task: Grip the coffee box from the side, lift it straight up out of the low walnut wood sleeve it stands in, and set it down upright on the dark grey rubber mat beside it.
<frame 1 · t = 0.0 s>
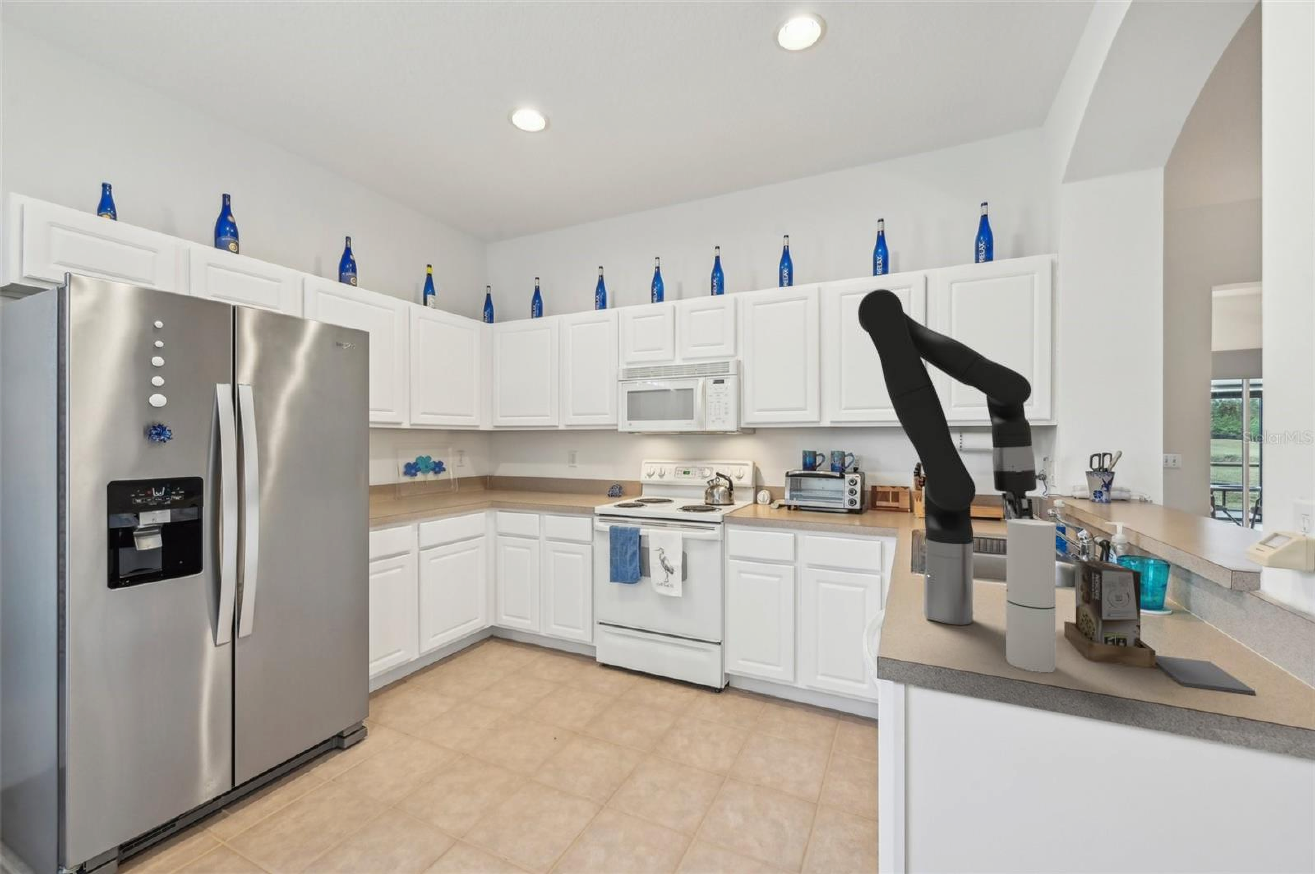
hand: (1019, 544, 116), 17 cm above the table, tool pointing down, fingers open, 8 cm apart
rubber mat: (1196, 674, 92), on the table
coffee box: (1106, 652, 102), resting in walnut sleeve
walnut sleeve: (1106, 651, 102), on the table
cylindrical container: (1030, 665, 97), on the table
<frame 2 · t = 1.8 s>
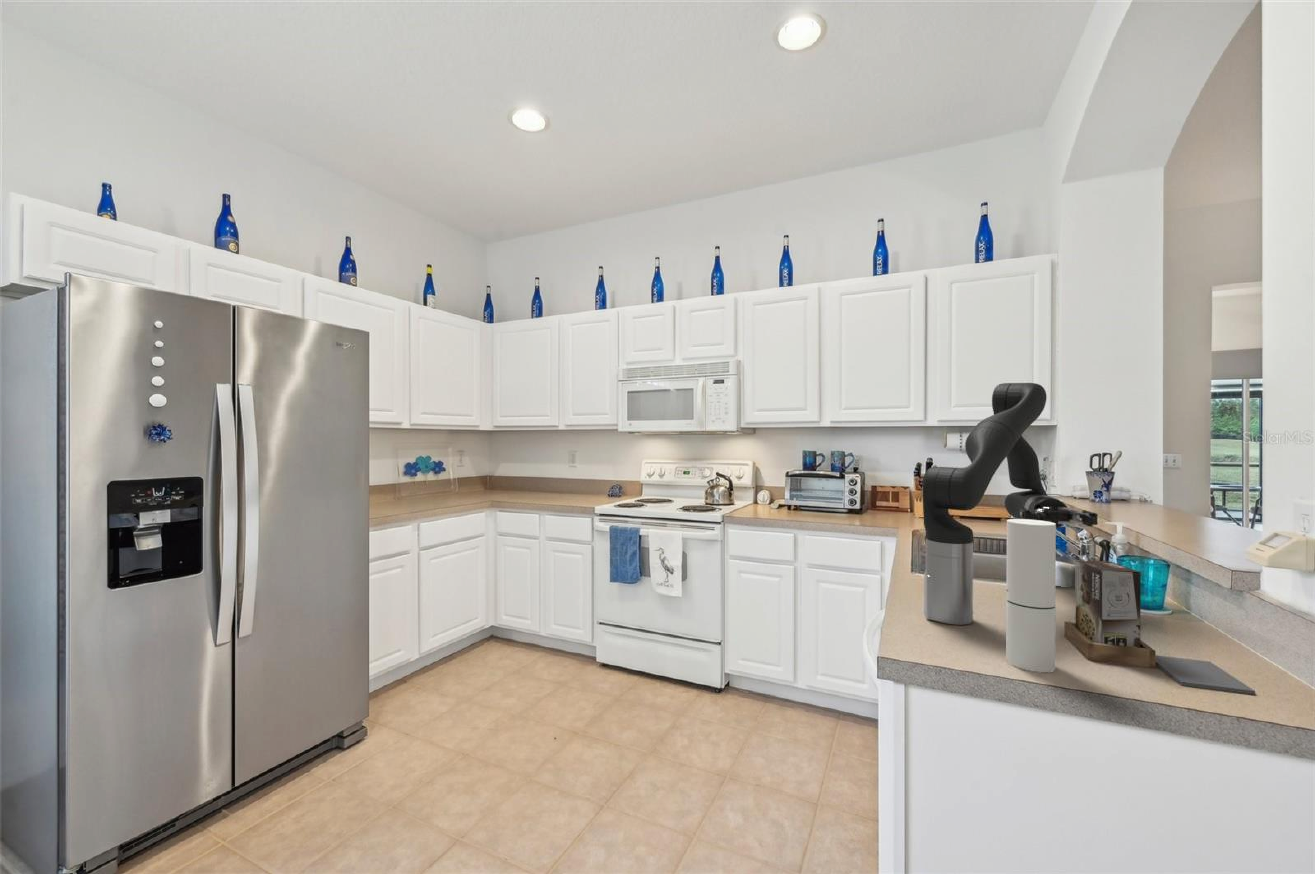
hand: (1067, 520, 123), 21 cm above the table, tool horizontal, fingers open, 8 cm apart
nothing on the table moved.
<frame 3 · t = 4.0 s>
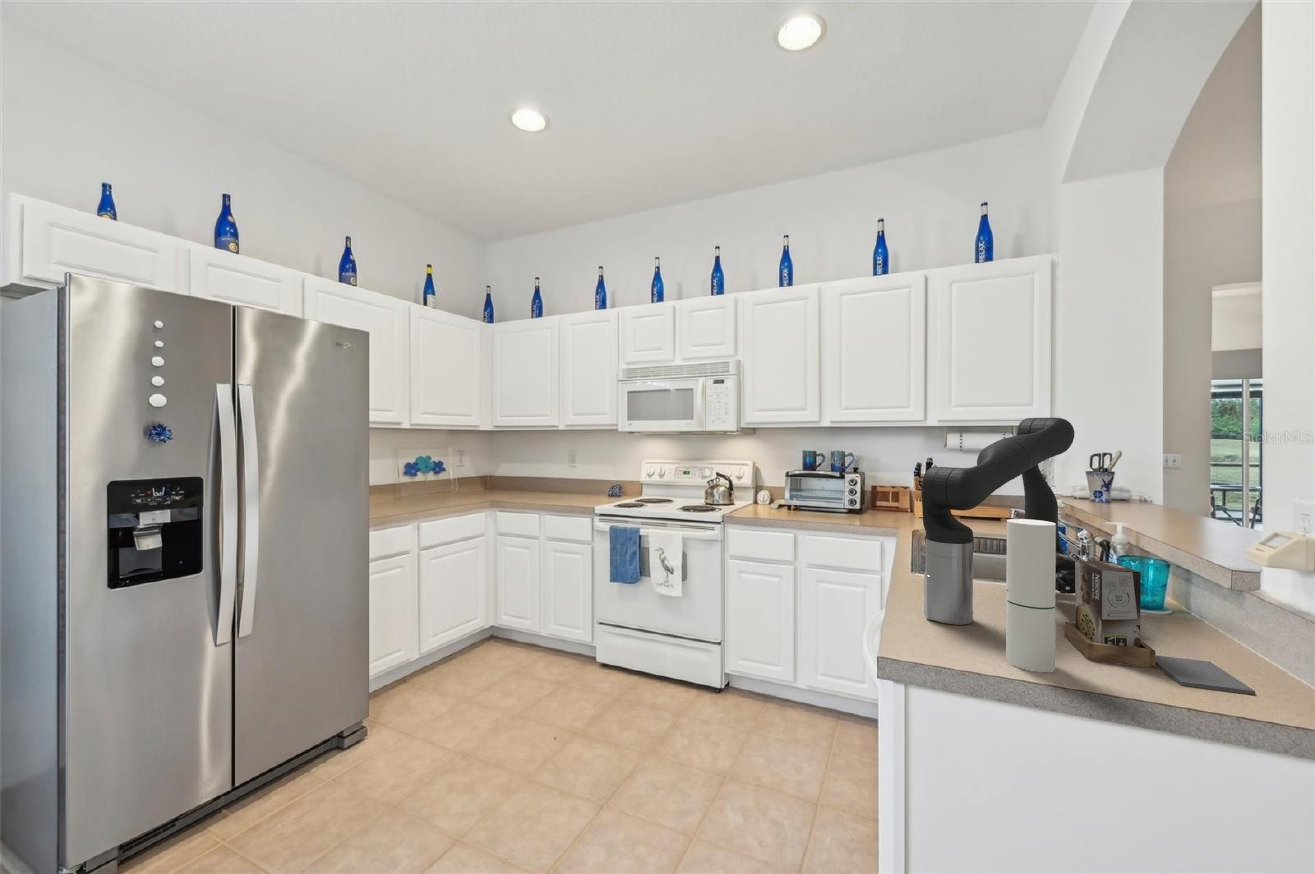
hand: (1089, 590, 110), 9 cm above the table, tool horizontal, fingers open, 8 cm apart
nothing on the table moved.
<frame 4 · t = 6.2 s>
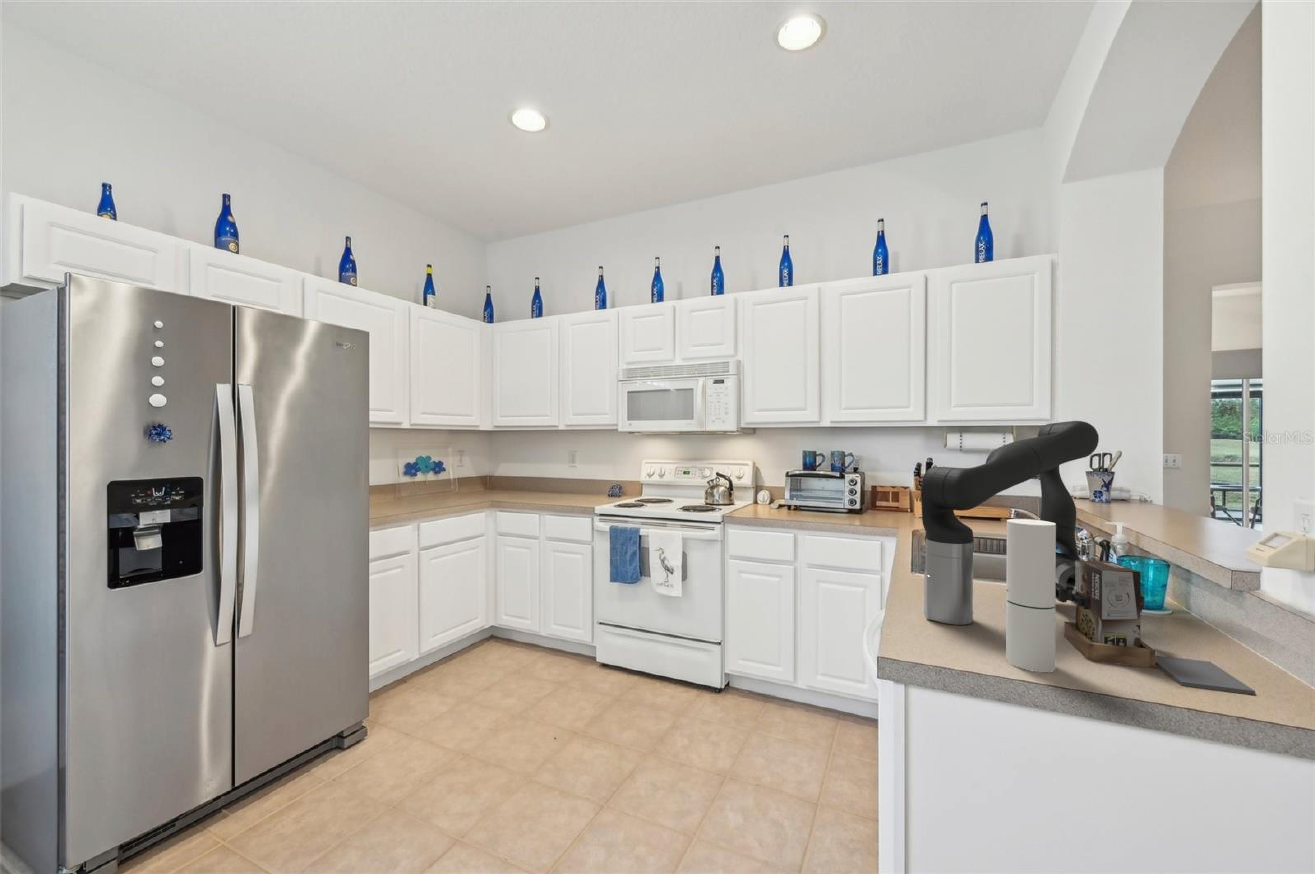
hand: (1111, 606, 100), 9 cm above the table, tool horizontal, fingers closed on coffee box, 7 cm apart
coffee box: (1106, 652, 102), resting in walnut sleeve, touching gripper
everything else where it was.
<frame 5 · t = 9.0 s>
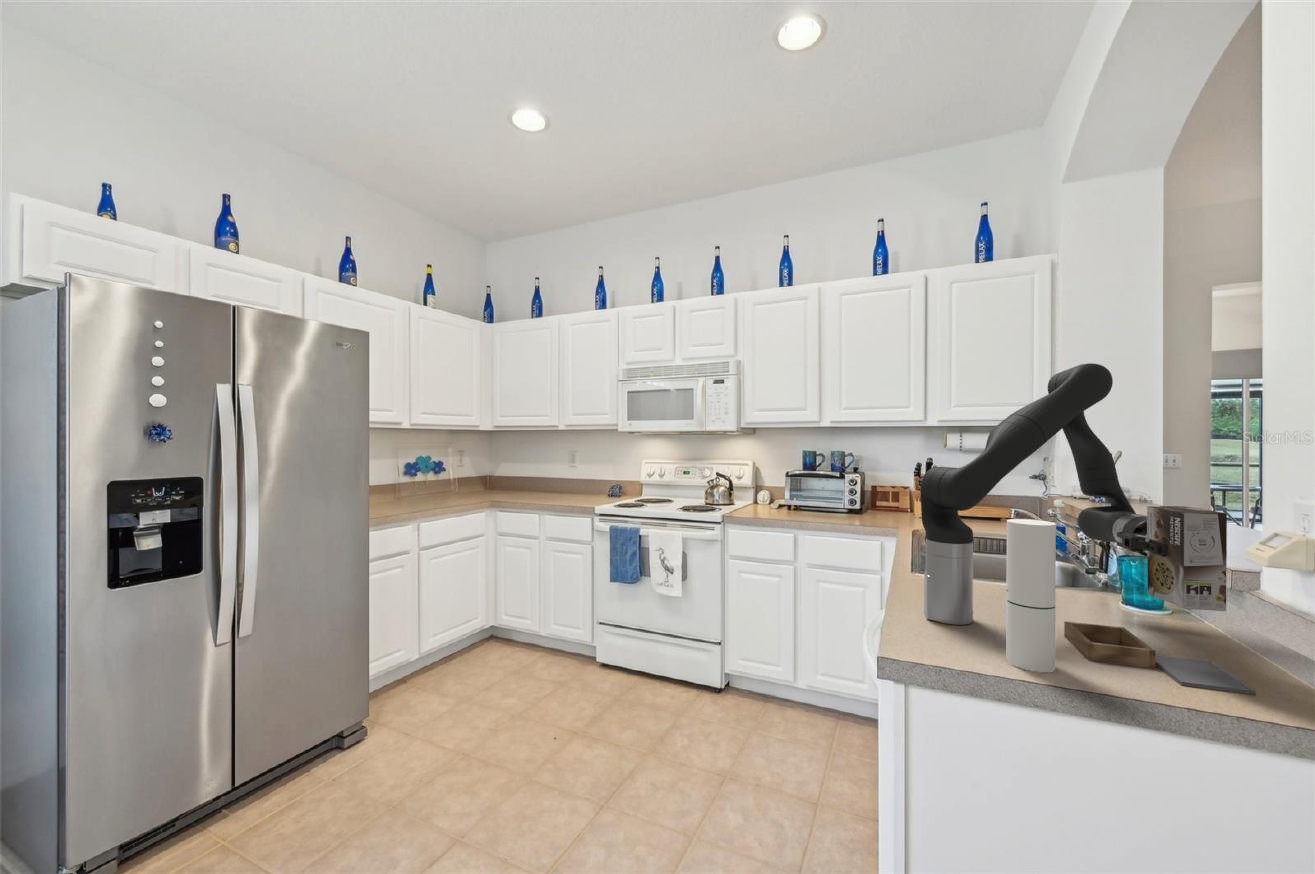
hand: (1193, 552, 92), 21 cm above the table, tool horizontal, fingers closed on coffee box, 7 cm apart
coffee box: (1184, 603, 94), point 11 cm above the table, touching gripper
everything else where it was.
when the fingers open (11 cm above the table, at t = 11.7 s): coffee box stays where it is, resting on rubber mat.
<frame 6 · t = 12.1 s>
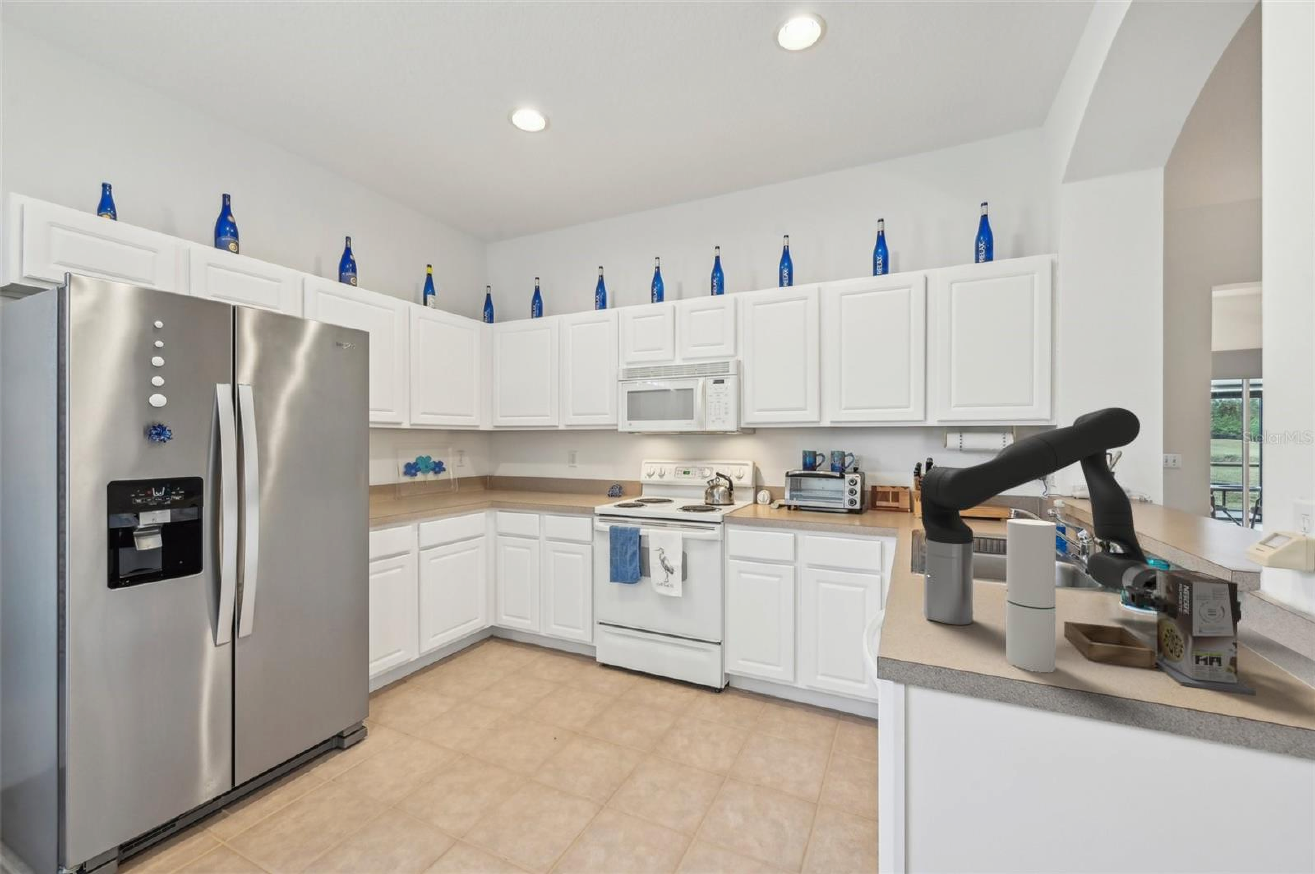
hand: (1203, 612, 91), 11 cm above the table, tool horizontal, fingers open, 8 cm apart
coffee box: (1194, 672, 93), resting on rubber mat
everything else where it was.
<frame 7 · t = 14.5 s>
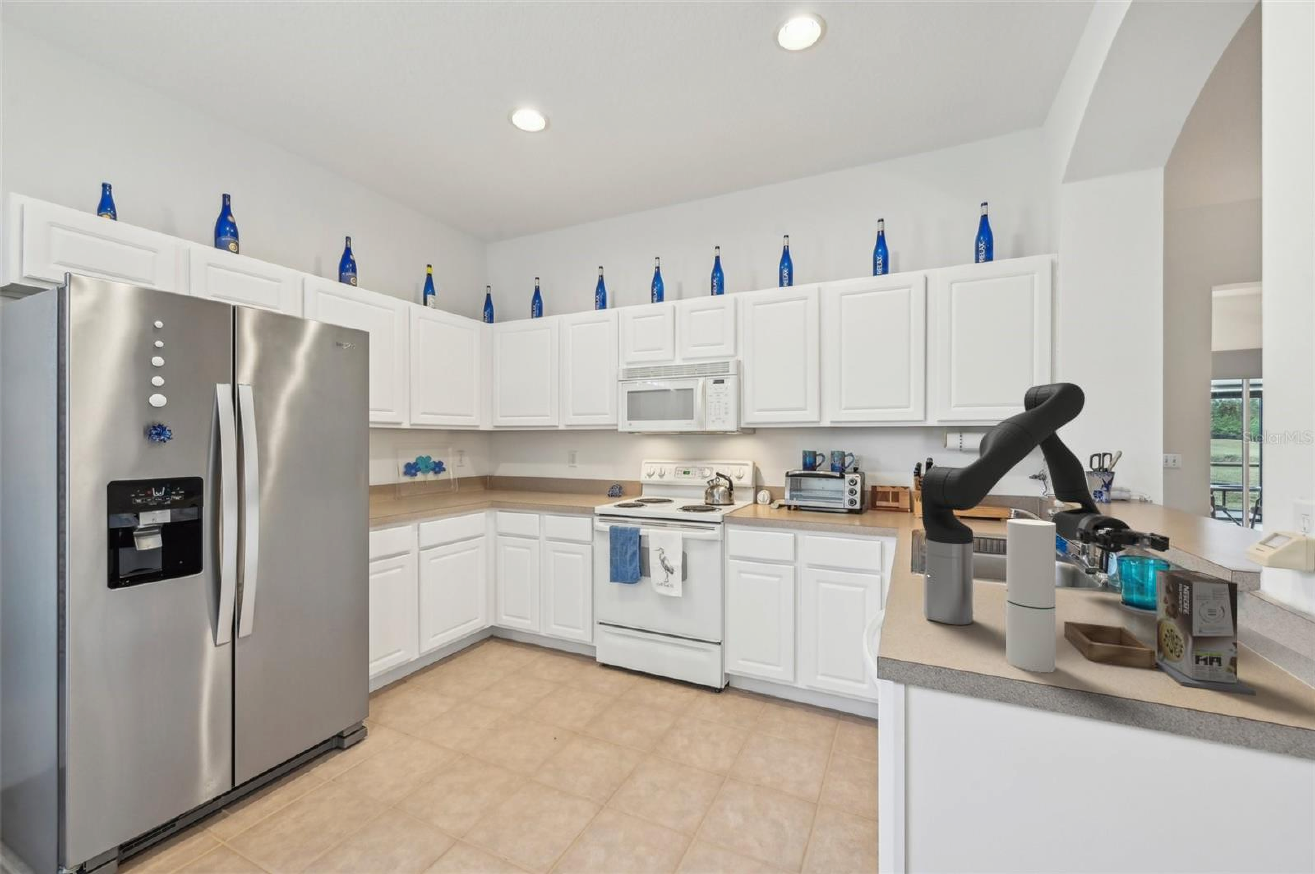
hand: (1136, 544, 108), 19 cm above the table, tool horizontal, fingers open, 8 cm apart
nothing on the table moved.
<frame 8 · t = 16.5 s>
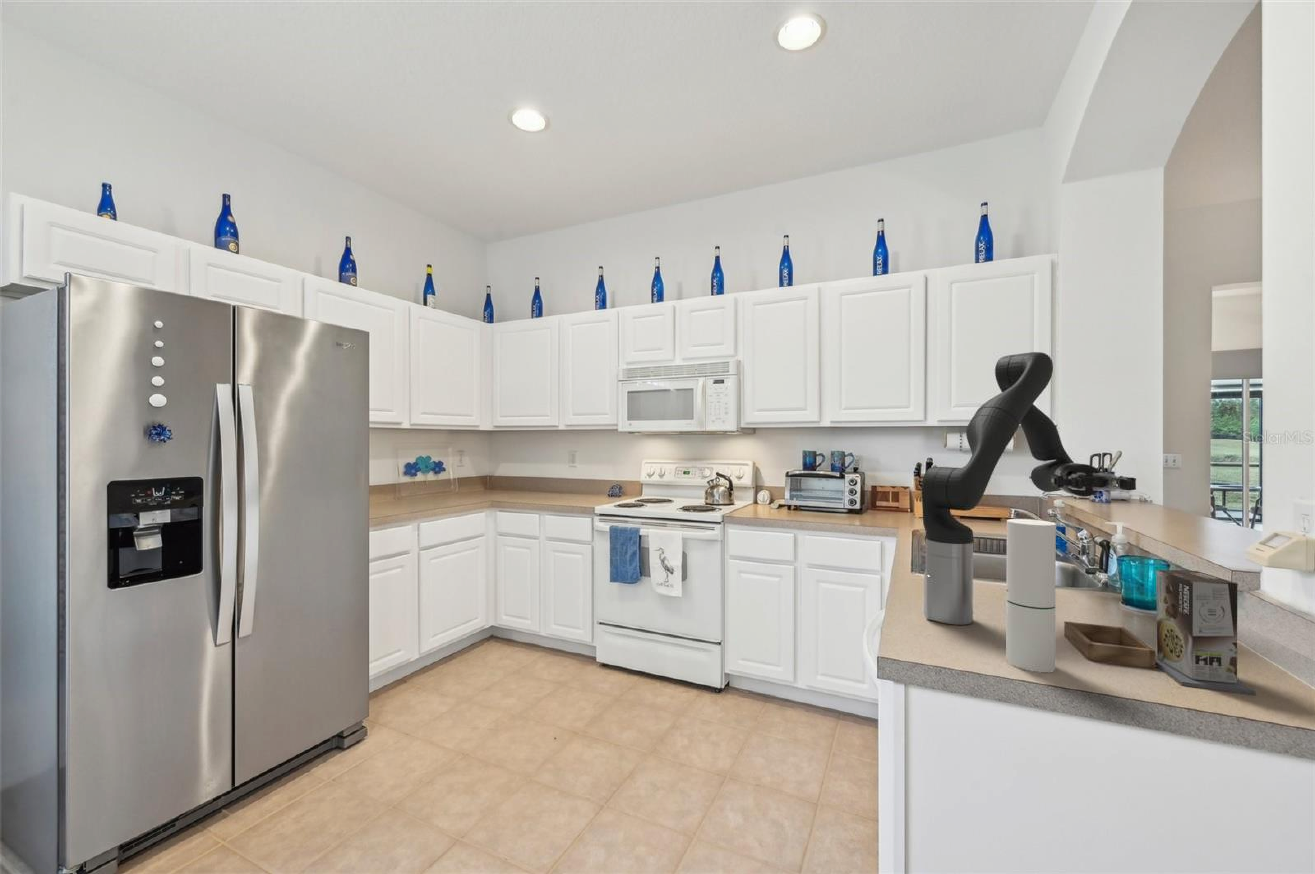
hand: (1104, 484, 116), 30 cm above the table, tool horizontal, fingers open, 8 cm apart
nothing on the table moved.
at the end: coffee box inside the target area on the rubber mat (0.2 cm from its centre), point 0.4 cm above the rubber mat's base; coffee box tilted 0°; the gripper is holding nothing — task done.
